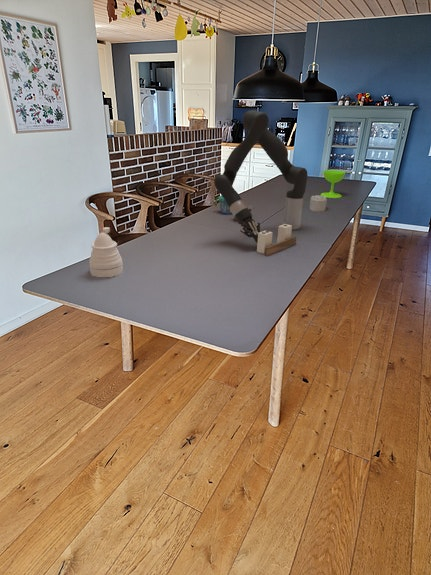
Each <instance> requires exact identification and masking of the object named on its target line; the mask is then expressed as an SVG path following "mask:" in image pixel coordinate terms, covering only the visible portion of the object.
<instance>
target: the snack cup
mask: <svg viewBox="0 0 431 575" xmlns="http://www.w3.org/2000/svg"><path fill="white" fill-rule="evenodd" d="M217 201H218V202H219V210H220V213H221V214H225V215H226V214H227V215H228V214H229V215H230V214H232V212H231V210H230V208H229V206H228V205H227V203H226V201H225V199H224V198H223V197H222V195H219V196H218V197H216V198H215V201H214V206H215V207H217V206H218V203H217Z"/></svg>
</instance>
